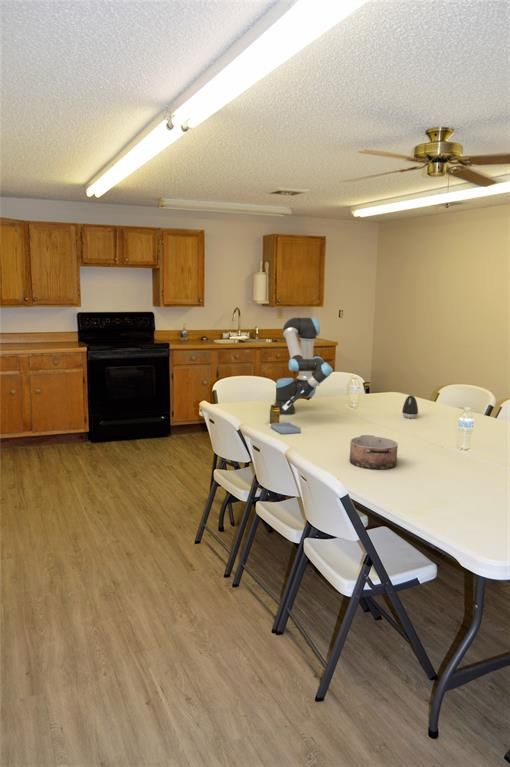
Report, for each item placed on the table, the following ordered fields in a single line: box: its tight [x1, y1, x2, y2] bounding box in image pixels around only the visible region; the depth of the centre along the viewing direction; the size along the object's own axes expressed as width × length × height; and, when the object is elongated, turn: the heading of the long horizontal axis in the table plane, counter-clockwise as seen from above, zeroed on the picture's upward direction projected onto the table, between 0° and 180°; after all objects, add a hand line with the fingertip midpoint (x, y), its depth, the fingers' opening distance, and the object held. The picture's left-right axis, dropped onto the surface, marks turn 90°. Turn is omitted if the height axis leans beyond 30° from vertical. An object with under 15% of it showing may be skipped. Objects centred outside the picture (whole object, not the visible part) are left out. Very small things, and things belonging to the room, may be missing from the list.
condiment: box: [269, 404, 281, 424], centre depth 358 cm, size 7×8×12 cm
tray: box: [270, 421, 302, 436], centre depth 342 cm, size 12×16×3 cm
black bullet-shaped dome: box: [401, 395, 419, 419], centre depth 386 cm, size 10×10×15 cm
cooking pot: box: [349, 434, 399, 471], centre depth 280 cm, size 30×22×11 cm
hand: (285, 406), depth 354 cm, fingers open, 13 cm apart
